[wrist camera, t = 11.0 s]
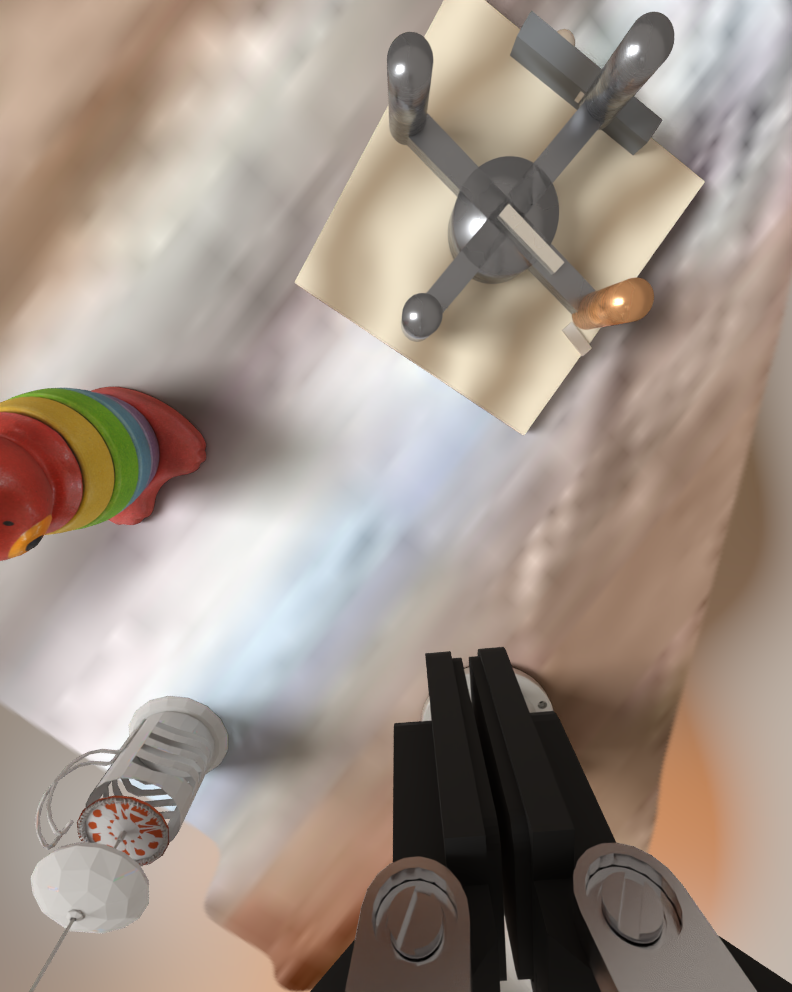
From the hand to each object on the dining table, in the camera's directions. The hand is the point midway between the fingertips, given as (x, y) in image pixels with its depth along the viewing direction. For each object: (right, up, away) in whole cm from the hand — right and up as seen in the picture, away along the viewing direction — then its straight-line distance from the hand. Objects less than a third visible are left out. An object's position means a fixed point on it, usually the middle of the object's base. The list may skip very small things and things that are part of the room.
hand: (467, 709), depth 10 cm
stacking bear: (-23, +9, +28) cm, 37 cm away
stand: (+5, +23, +24) cm, 33 cm away
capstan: (+5, +22, +22) cm, 32 cm away
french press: (-24, -19, +36) cm, 47 cm away
